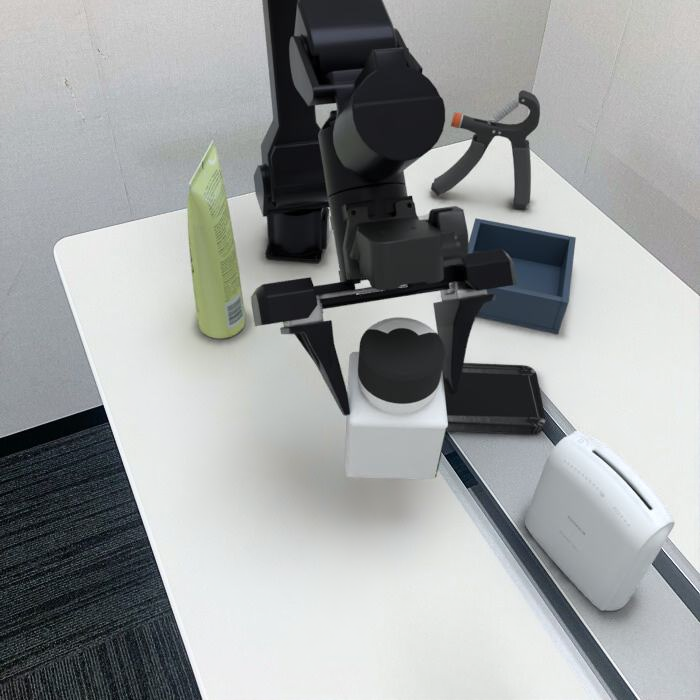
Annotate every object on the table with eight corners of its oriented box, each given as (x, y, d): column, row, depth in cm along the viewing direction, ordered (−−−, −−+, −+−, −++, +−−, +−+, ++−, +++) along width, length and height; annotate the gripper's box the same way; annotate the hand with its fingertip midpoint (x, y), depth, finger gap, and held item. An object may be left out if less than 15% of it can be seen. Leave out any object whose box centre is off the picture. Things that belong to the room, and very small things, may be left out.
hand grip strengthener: (431, 188, 98) (446, 79, 87) (528, 201, 97) (555, 92, 86) (429, 198, 97) (444, 88, 86) (527, 212, 95) (555, 101, 85)
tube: (187, 314, 80) (160, 153, 66) (230, 298, 82) (213, 137, 68) (211, 347, 77) (188, 184, 63) (255, 329, 79) (242, 167, 65)
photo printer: (514, 522, 64) (546, 432, 55) (551, 500, 66) (589, 409, 57) (601, 623, 58) (653, 541, 49) (640, 596, 60) (697, 512, 51)
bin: (452, 312, 82) (458, 279, 79) (469, 249, 90) (475, 217, 86) (558, 334, 80) (568, 302, 77) (566, 268, 88) (576, 237, 85)
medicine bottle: (436, 481, 59) (459, 381, 50) (345, 478, 59) (351, 378, 50) (430, 409, 64) (449, 306, 55) (346, 407, 64) (352, 303, 55)
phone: (547, 427, 70) (385, 420, 70) (544, 434, 71) (384, 428, 70) (534, 364, 75) (384, 358, 75) (532, 372, 76) (384, 365, 76)
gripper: (248, 186, 45) (290, 444, 46) (535, 152, 49) (569, 389, 49) (236, 216, 56) (270, 423, 56) (471, 185, 60) (500, 380, 60)
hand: (400, 404), depth 55 cm, fingers closed on medicine bottle, 8 cm apart
